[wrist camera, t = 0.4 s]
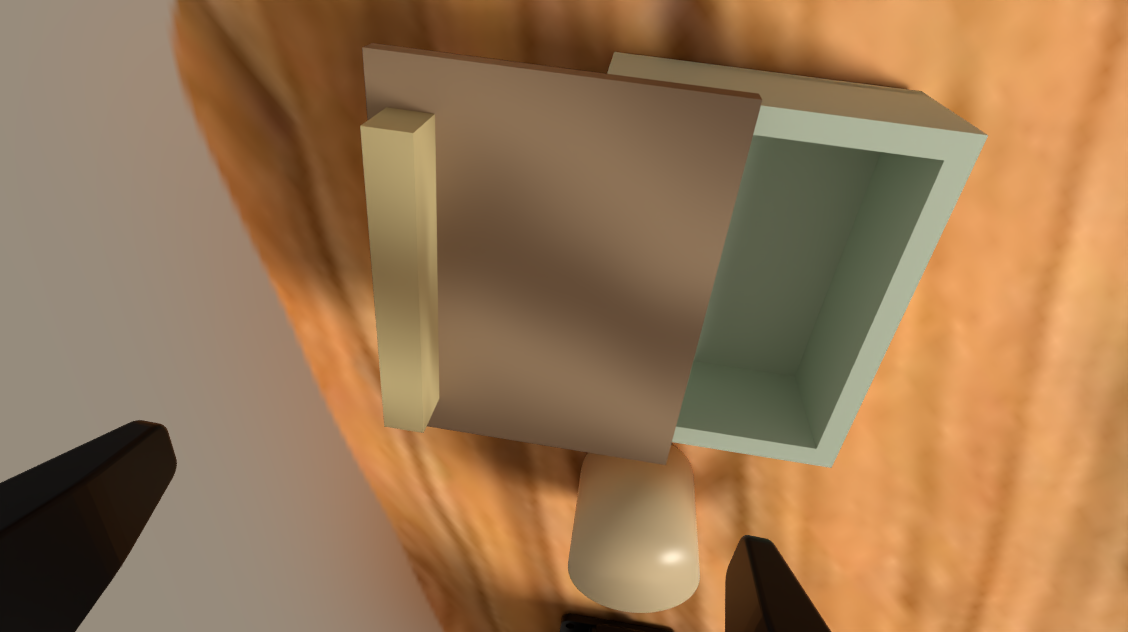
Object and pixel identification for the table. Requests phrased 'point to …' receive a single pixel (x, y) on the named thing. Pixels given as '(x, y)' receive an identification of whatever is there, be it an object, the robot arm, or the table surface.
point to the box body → (814, 253)
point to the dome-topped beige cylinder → (635, 533)
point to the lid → (544, 244)
